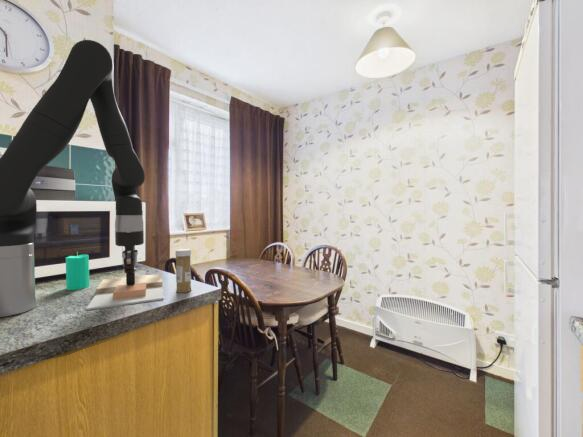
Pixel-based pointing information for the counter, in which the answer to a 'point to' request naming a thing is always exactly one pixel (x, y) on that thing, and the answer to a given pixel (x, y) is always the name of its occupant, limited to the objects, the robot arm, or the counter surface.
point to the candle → (77, 272)
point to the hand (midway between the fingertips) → (130, 284)
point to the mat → (107, 299)
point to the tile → (129, 291)
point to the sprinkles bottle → (183, 270)
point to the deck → (111, 284)
